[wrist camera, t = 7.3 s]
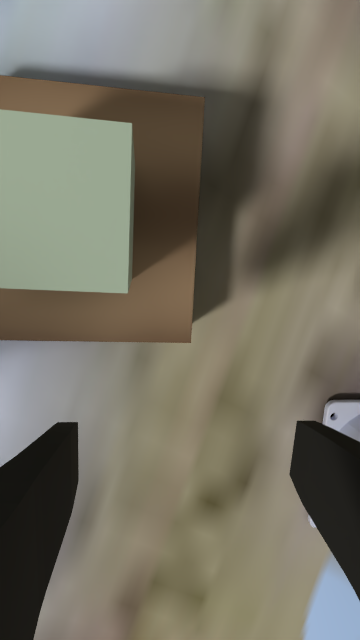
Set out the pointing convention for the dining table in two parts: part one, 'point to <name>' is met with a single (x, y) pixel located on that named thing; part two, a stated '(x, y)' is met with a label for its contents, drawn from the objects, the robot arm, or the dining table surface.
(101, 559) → the dining table surface
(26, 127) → the cube
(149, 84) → the dining table surface
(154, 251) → the base block
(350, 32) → the dining table surface
